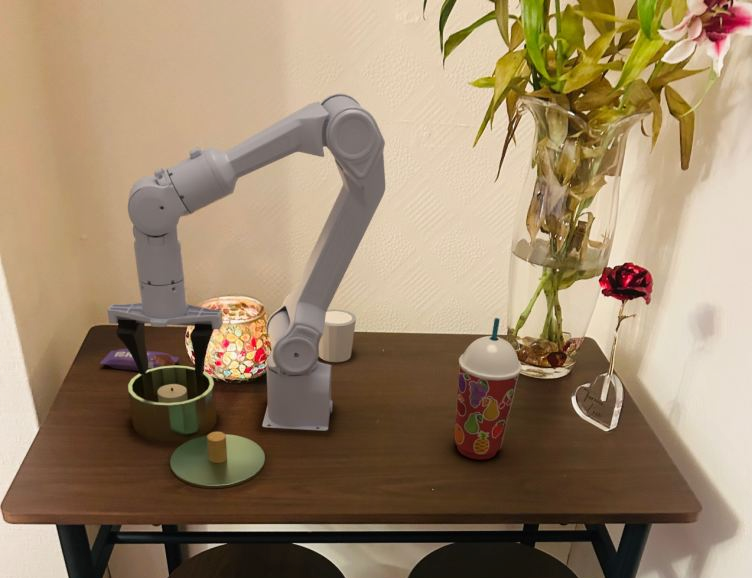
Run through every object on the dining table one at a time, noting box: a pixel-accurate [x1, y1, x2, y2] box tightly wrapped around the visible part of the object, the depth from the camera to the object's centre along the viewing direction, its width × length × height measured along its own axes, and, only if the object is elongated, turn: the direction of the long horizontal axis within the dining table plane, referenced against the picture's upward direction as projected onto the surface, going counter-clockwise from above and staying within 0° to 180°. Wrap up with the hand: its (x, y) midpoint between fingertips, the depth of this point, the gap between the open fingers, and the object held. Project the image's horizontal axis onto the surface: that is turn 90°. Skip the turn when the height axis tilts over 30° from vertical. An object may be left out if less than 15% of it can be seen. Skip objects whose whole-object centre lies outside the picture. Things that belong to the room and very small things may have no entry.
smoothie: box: [453, 317, 523, 461], centre depth 105 cm, size 8×8×20 cm
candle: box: [157, 384, 188, 403], centre depth 110 cm, size 4×4×5 cm
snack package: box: [99, 348, 180, 372], centre depth 125 cm, size 12×2×5 cm
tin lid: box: [169, 431, 266, 489], centre depth 102 cm, size 12×12×5 cm
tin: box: [127, 365, 218, 443], centre depth 110 cm, size 12×12×6 cm
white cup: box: [318, 309, 357, 363], centre depth 131 cm, size 7×7×7 cm
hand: (172, 372), depth 107 cm, fingers open, 7 cm apart
